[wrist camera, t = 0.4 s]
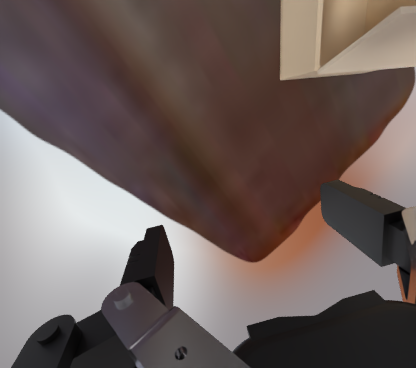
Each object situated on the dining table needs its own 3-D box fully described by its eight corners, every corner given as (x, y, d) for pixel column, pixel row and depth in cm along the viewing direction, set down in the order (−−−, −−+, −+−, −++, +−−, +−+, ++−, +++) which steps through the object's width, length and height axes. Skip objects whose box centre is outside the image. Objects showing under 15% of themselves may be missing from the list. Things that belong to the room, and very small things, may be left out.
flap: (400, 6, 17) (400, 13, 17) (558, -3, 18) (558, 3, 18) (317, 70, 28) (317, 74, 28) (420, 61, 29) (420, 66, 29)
